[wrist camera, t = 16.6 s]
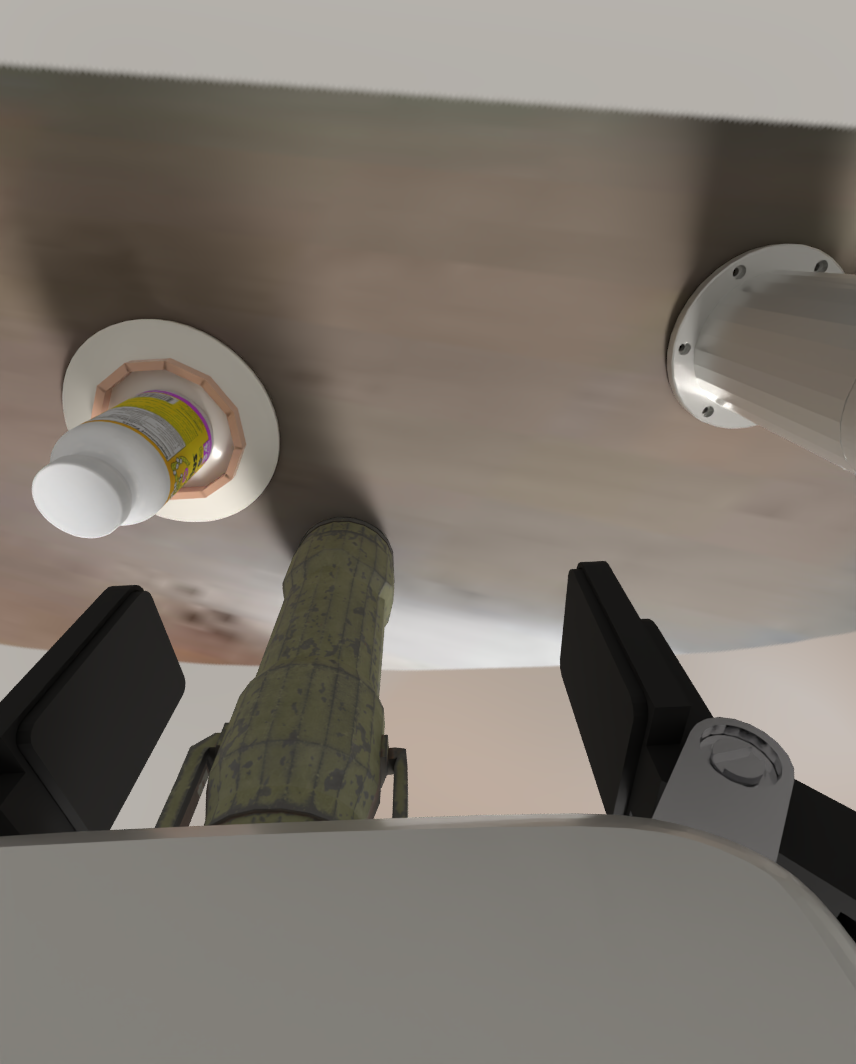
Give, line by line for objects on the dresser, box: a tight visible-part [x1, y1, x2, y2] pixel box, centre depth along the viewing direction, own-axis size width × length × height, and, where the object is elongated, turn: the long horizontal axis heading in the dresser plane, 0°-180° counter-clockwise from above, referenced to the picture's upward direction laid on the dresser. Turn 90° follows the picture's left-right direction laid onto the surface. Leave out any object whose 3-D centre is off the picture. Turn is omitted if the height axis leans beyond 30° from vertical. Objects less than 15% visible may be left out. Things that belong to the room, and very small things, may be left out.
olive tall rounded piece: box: [155, 518, 408, 828], centre depth 30 cm, size 9×12×35 cm
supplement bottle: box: [32, 389, 214, 538], centre depth 33 cm, size 7×7×13 cm
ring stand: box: [62, 319, 280, 522], centre depth 39 cm, size 16×16×2 cm
